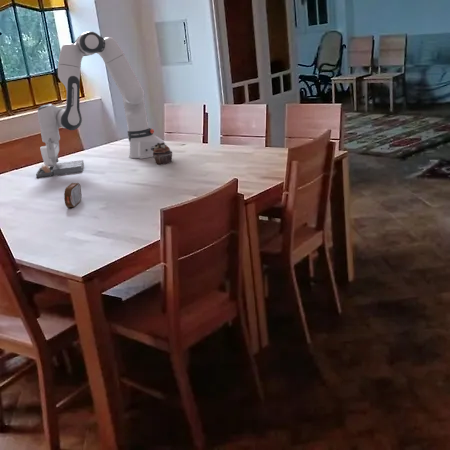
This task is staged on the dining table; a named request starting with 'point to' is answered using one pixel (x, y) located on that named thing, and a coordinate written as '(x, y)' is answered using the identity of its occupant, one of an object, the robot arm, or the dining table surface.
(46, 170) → the tile terracotta
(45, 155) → the white cup
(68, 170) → the far plate
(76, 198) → the tin
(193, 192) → the dining table surface
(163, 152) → the cupcake
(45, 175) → the box
